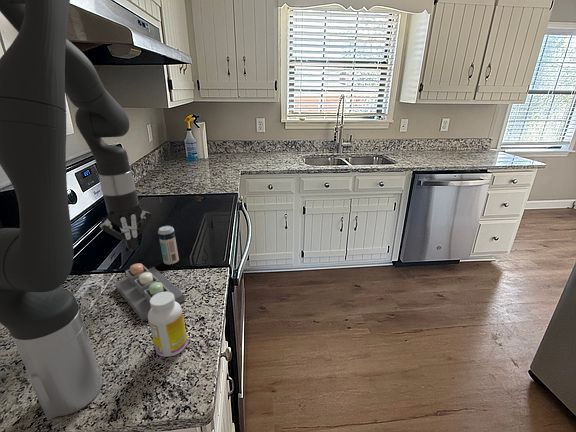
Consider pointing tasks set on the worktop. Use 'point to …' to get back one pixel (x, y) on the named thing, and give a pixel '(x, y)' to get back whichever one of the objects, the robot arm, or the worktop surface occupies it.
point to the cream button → (145, 278)
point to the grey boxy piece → (144, 291)
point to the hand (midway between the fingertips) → (133, 249)
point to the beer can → (168, 245)
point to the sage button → (155, 288)
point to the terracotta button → (136, 269)
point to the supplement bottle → (167, 324)
